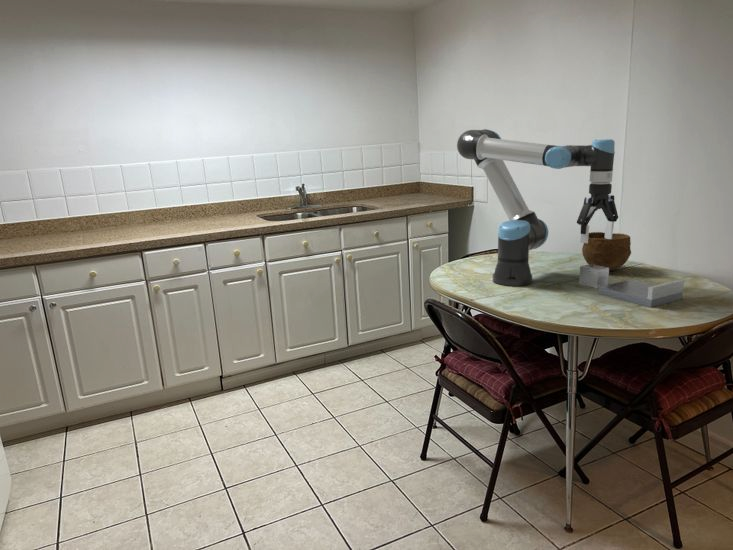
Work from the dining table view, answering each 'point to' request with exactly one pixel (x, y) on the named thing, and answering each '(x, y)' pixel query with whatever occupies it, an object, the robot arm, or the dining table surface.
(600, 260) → the bowl
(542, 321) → the dining table surface
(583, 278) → the grey block
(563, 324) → the dining table surface
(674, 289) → the ledge
